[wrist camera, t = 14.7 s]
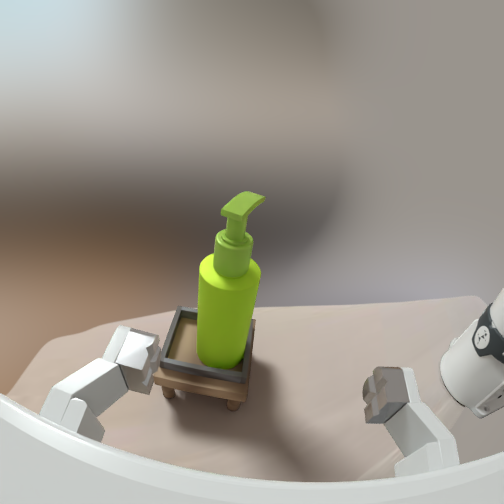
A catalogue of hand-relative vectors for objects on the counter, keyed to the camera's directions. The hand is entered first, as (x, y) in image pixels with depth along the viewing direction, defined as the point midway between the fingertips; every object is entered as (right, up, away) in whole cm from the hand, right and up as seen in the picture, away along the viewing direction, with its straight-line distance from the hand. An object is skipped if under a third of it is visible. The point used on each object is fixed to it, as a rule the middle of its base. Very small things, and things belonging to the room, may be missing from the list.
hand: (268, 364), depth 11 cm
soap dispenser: (-4, -8, +27) cm, 28 cm away
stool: (-7, -13, +30) cm, 33 cm away
